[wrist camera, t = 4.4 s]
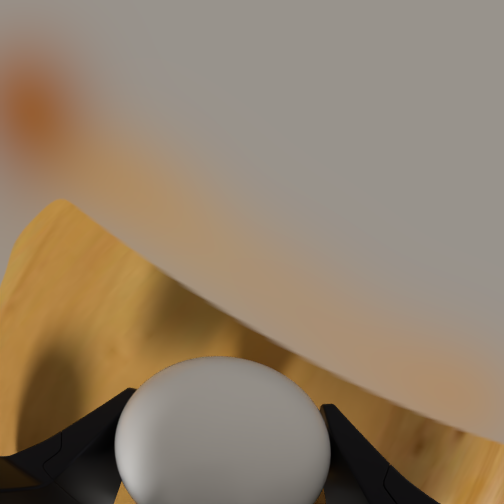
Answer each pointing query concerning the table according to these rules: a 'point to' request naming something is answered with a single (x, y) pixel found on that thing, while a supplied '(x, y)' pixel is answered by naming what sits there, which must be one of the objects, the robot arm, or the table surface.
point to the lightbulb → (222, 437)
